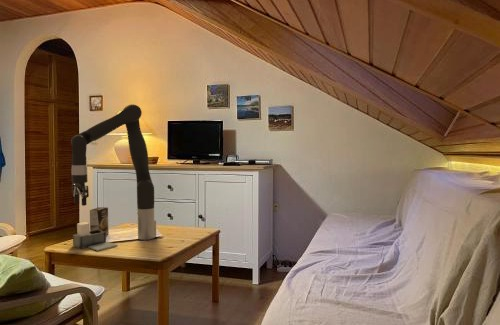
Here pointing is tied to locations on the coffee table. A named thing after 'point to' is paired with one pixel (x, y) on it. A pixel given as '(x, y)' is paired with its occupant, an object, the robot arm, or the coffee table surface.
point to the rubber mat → (103, 246)
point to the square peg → (83, 229)
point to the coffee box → (99, 219)
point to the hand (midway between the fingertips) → (80, 204)
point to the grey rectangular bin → (89, 239)
